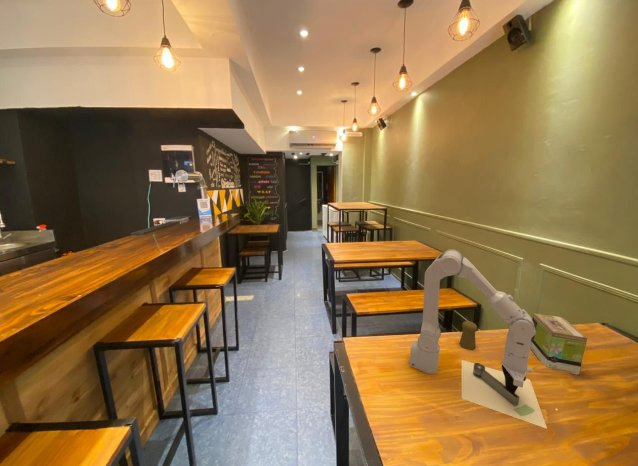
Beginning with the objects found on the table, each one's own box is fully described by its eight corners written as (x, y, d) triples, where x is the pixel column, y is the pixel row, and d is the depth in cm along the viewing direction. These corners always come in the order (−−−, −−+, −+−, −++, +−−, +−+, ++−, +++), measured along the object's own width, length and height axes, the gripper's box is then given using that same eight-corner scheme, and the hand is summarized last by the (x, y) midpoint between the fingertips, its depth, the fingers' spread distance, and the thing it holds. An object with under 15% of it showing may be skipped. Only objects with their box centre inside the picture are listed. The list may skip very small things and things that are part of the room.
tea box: (580, 376, 88) (589, 337, 85) (545, 369, 91) (552, 332, 88) (556, 350, 102) (563, 316, 99) (526, 345, 105) (532, 312, 102)
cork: (478, 353, 99) (481, 328, 97) (461, 351, 101) (464, 326, 99) (472, 344, 105) (475, 320, 103) (456, 342, 106) (459, 318, 104)
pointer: (470, 372, 88) (471, 363, 87) (478, 370, 89) (479, 362, 88) (512, 406, 74) (514, 397, 73) (520, 404, 75) (522, 395, 74)
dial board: (461, 401, 77) (461, 398, 77) (461, 362, 94) (461, 359, 94) (546, 431, 68) (547, 428, 68) (529, 382, 85) (529, 379, 85)
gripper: (540, 371, 68) (532, 414, 70) (528, 342, 80) (521, 380, 82) (507, 362, 71) (501, 404, 73) (501, 336, 83) (495, 372, 86)
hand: (510, 391), depth 78 cm, fingers closed
